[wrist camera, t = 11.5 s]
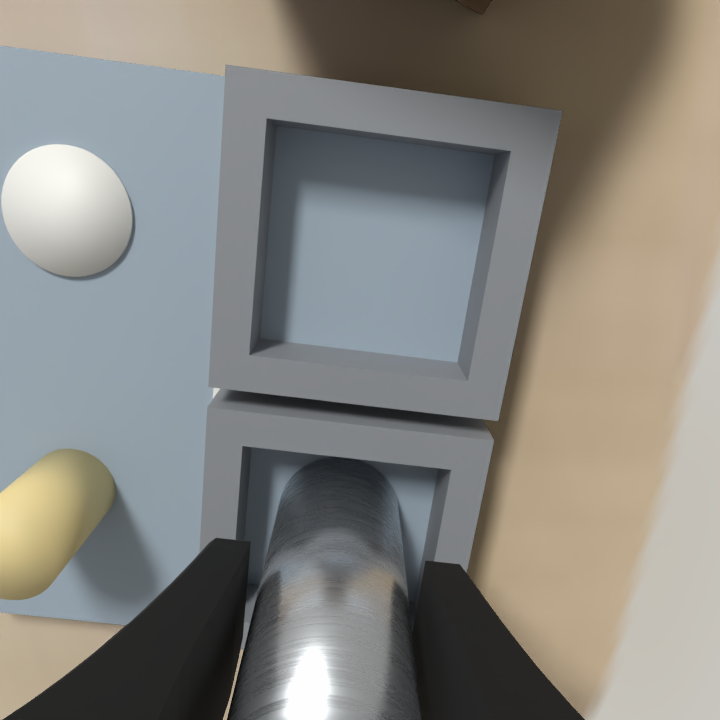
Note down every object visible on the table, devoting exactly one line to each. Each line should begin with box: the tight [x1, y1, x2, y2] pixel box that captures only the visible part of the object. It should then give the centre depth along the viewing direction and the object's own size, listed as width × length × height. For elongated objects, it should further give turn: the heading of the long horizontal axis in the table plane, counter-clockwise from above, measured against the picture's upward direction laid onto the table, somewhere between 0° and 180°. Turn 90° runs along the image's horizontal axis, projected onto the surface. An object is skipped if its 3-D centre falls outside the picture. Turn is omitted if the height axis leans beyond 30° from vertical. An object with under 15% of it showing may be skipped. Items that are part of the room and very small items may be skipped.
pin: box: [227, 457, 422, 720], centre depth 10 cm, size 3×3×6 cm
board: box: [0, 46, 563, 649], centre depth 11 cm, size 11×12×4 cm
